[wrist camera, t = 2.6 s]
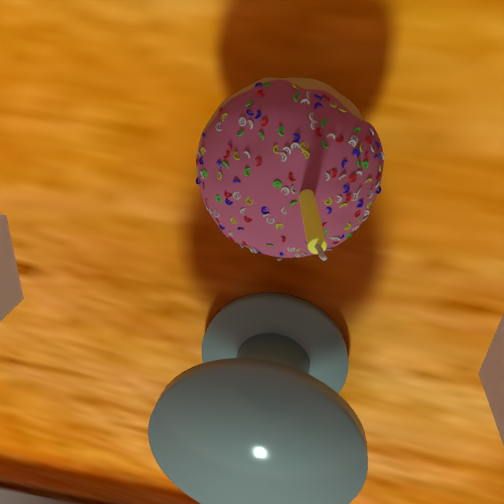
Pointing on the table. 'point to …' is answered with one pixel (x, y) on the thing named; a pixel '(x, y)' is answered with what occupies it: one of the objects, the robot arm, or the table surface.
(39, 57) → the table surface
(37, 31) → the table surface
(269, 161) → the cupcake
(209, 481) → the cake stand
